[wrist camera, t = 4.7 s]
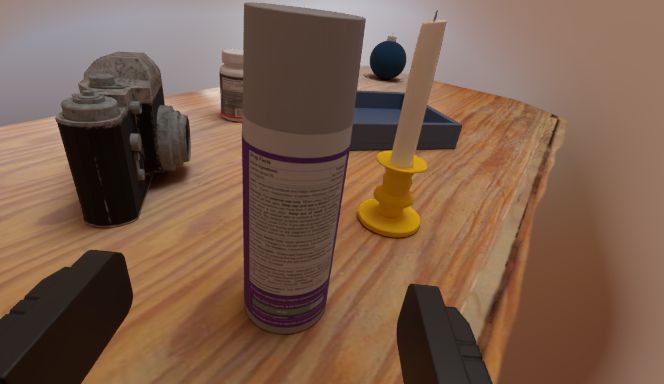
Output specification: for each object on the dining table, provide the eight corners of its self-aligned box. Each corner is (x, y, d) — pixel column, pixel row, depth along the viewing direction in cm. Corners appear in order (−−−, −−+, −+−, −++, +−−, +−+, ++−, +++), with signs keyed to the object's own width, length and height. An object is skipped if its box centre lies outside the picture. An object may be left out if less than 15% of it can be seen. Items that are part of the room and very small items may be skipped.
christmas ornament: (381, 73, 88) (389, 31, 83) (408, 81, 83) (418, 36, 78) (359, 75, 82) (366, 30, 77) (388, 84, 77) (397, 35, 73)
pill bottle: (232, 109, 49) (230, 46, 45) (262, 115, 49) (264, 52, 44) (214, 118, 45) (210, 50, 41) (247, 125, 44) (247, 56, 40)
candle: (357, 233, 27) (400, 5, 19) (357, 199, 31) (392, 4, 24) (424, 242, 27) (494, 17, 19) (414, 206, 31) (467, 14, 24)
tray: (401, 112, 58) (405, 92, 57) (455, 148, 46) (462, 125, 44) (299, 109, 53) (301, 87, 51) (329, 150, 40) (332, 123, 39)
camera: (184, 224, 25) (168, 84, 20) (75, 230, 23) (28, 77, 18) (195, 144, 37) (187, 45, 32) (124, 144, 35) (104, 38, 30)
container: (264, 264, 22) (271, 2, 15) (334, 283, 22) (377, 17, 14) (228, 320, 18) (213, 0, 11) (312, 345, 18) (356, 21, 10)
